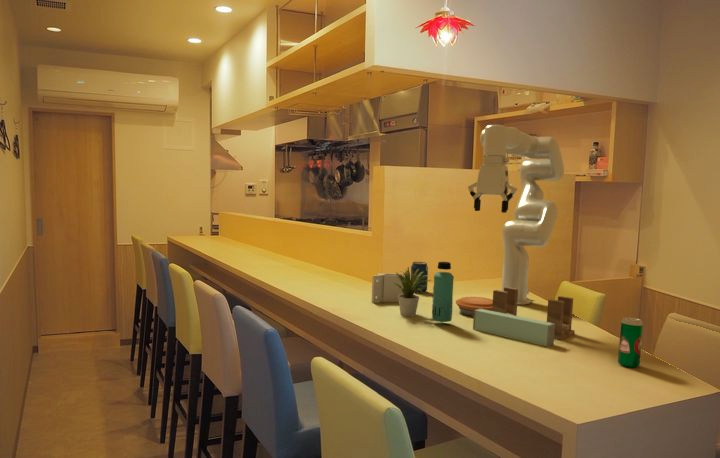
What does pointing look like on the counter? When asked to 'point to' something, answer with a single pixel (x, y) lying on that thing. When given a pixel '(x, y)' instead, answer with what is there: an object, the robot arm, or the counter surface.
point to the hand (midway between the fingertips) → (490, 211)
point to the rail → (514, 327)
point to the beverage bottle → (443, 294)
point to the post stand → (556, 312)
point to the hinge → (386, 288)
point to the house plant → (409, 292)
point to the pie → (474, 304)
